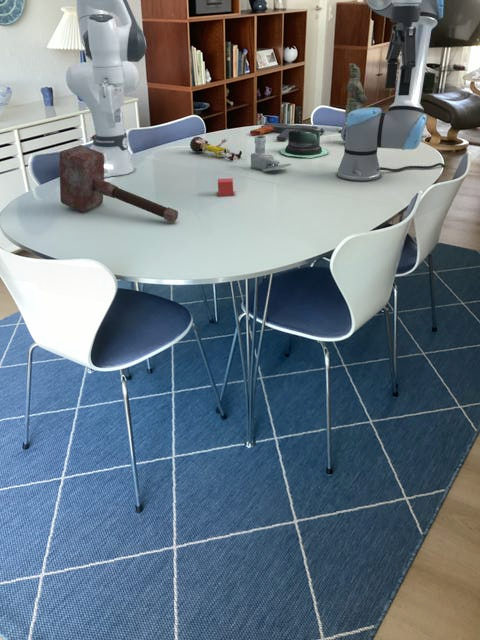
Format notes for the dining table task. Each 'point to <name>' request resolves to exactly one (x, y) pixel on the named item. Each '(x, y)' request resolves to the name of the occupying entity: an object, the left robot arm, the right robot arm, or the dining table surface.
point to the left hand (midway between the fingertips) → (115, 125)
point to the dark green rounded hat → (304, 143)
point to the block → (225, 187)
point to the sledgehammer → (96, 184)
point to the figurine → (212, 148)
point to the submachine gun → (280, 129)
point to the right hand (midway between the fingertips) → (396, 91)
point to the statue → (354, 91)
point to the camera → (264, 157)
